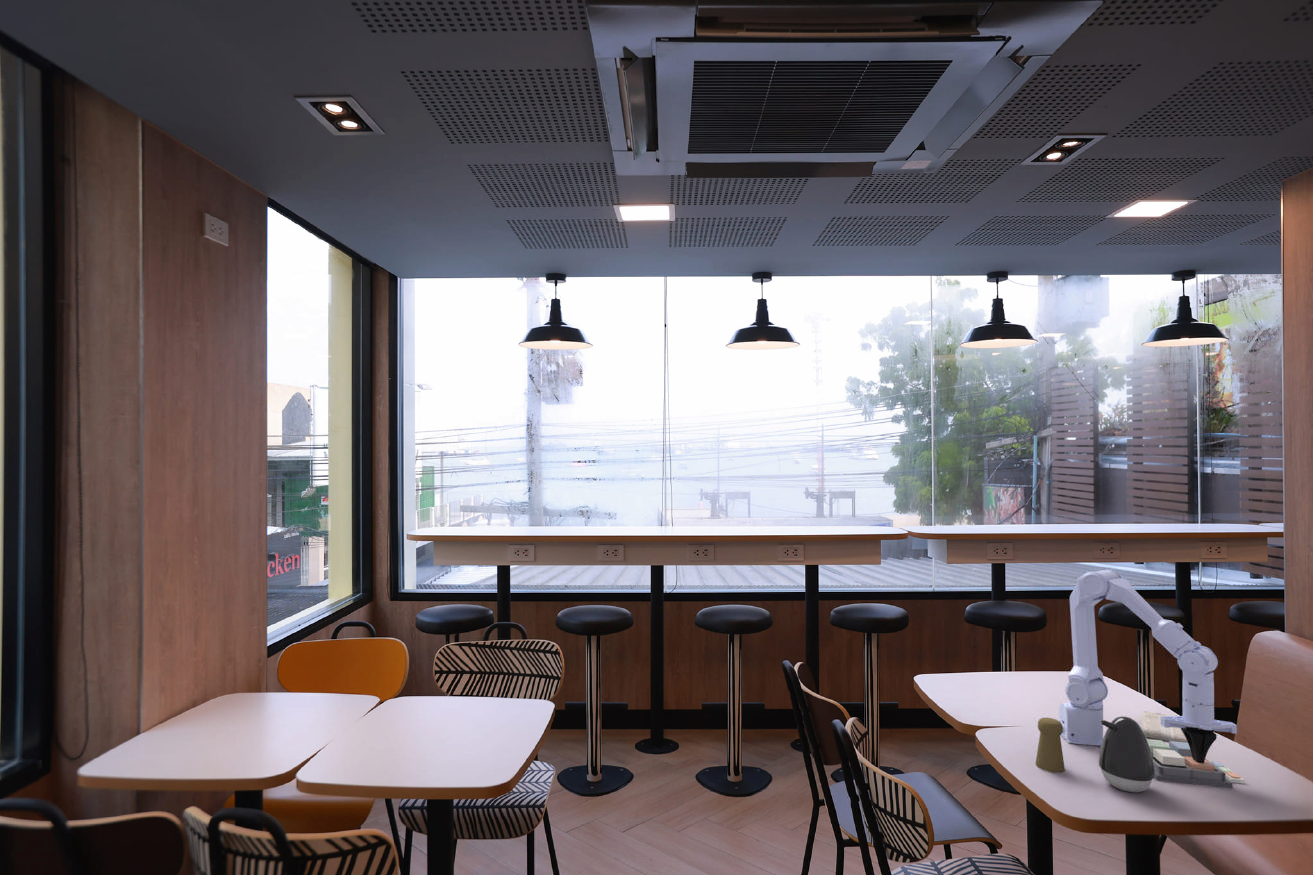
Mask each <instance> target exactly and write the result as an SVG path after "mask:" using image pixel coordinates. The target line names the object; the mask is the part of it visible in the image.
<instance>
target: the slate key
mask: <svg viewBox="0 0 1313 875" xmlns="http://www.w3.org/2000/svg"><path fill="white" fill-rule="evenodd" d="M1168 746H1169V747H1171V750H1175V751H1176V752H1177V753H1178V754H1180V755H1181V756H1186V757H1192V754H1191V750H1190V747H1189V744H1188V743H1185V742H1174V741H1169V742H1168Z"/></svg>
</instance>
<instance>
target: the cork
mask: <svg viewBox="0 0 1313 875" xmlns="http://www.w3.org/2000/svg"><path fill="white" fill-rule="evenodd" d="M1037 729H1038V731H1039V738H1038V745H1037V752H1036V758H1035V766H1036V767H1037V768H1039V769H1040V770H1043V771H1046V772H1049V773H1055V774H1056V773H1058V774H1060V773H1064V772H1065V771H1066V769H1065V761H1064V754H1063V747H1062V741H1061V740H1062V739H1061V736H1062V735H1061V734H1062V732H1063V726H1062V724H1061V722H1059V720H1058V719H1056V718H1053V717H1041V718H1039V719H1038V720H1037Z"/></svg>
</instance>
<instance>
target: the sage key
mask: <svg viewBox="0 0 1313 875" xmlns="http://www.w3.org/2000/svg"><path fill="white" fill-rule="evenodd" d="M1146 739H1147V742H1148V744H1149V747H1150V751H1151V754H1153V749H1164V750H1171V747H1169V744H1167V743H1165V741H1164V740H1157V739H1152V738H1146Z"/></svg>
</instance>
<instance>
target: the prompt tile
mask: <svg viewBox="0 0 1313 875" xmlns="http://www.w3.org/2000/svg"><path fill="white" fill-rule="evenodd" d="M1210 762H1211V763H1212V764H1213V765H1215V766H1216V767H1217V768H1219V769H1220V770H1221V771H1223V772H1224V773H1226V778H1227V779H1228V780H1229V781H1231V782H1232V783H1233V784H1234V783H1235V784H1236V783H1237V784H1244V779H1243V778H1242V777H1241V776H1240V775H1238V774H1237V773H1235V772H1234V771H1232V770H1231V768H1230V769H1229V768H1228V767H1227V766H1225V765H1224V764H1223V763H1222V762H1219V761H1217V762H1216V761H1210Z"/></svg>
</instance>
